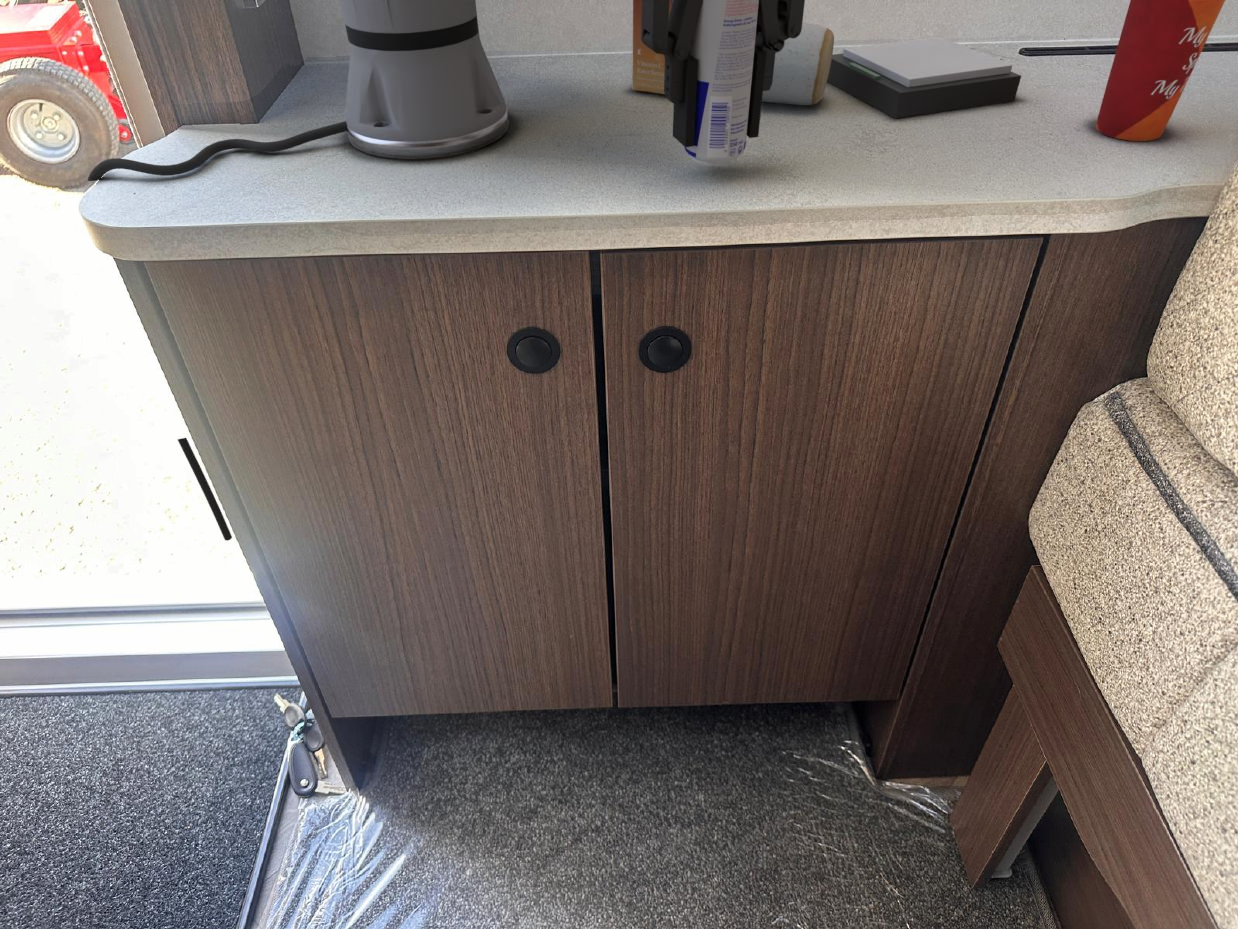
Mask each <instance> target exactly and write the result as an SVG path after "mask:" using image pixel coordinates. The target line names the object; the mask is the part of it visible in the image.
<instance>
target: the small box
mask: <svg viewBox="0 0 1238 929" xmlns="http://www.w3.org/2000/svg"><path fill="white" fill-rule="evenodd" d="M672 3H673V0H669V16H670V12H671V8H672ZM641 21H642V0H632V57H631V58H632V59H631V60H632V62H631V65H632V68H631V69H632V70H631V72H632V77H631V78H632V80H631V81H632V82H631V87H632V89H631V90H632V91H639V92H640V91H642V92H648V93H653V94H659V95H665V93H664V79H665V78H664V73H665V57H664V55H663V54H657V53H655V52H654V51H652V50H651V49H650V48H648V47H647V46H646V45H645V44H643V42H642V40H641Z"/></svg>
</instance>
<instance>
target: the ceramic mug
mask: <svg viewBox="0 0 1238 929" xmlns="http://www.w3.org/2000/svg"><path fill="white" fill-rule="evenodd" d="M834 44H835V35H834V32H833V31H832V29H830V28H828V27H826V26H823V25H820V24H817V23H816V24H815V23H809V22H802V30H801V33H800V35H799V36H798V37H797V38H789V39H787V40H785V44H784V47H783V49H782V50H781V51H780V52H777V53H776V54H775V63H774V70H773V71H774V72H773V82H772V86H771V88H770V90H769V91H763V95H762V103H776V104H787V105H794V106H812V105H816V104H818V103H819V102H821V101H822V99H823V97H824V94H825V91H826V87H827V83H828V82H827V80H828V75H829V71H830V66H831V61H832V55H834V53H833V52H834V46H835V45H834Z"/></svg>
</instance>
